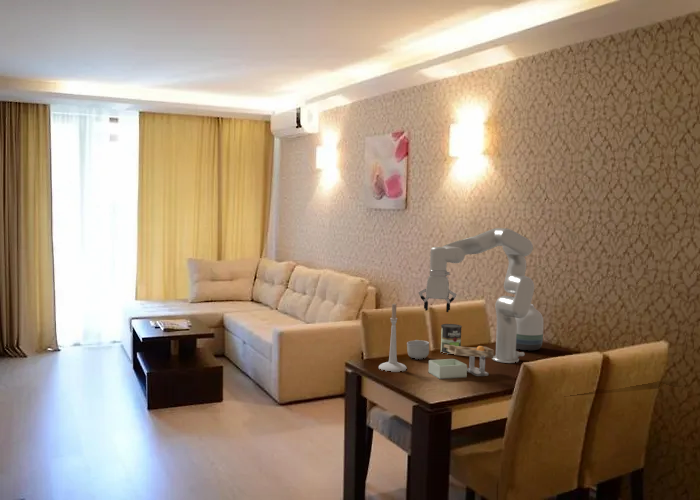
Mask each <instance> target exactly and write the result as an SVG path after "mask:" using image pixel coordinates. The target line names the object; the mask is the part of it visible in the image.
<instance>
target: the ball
mask: <svg viewBox="0 0 700 500" xmlns="http://www.w3.org/2000/svg"><path fill="white" fill-rule="evenodd" d="M484 347H485V346H483V345H478V346H477V347H476V348H477V351H484V350H485V349H484Z"/></svg>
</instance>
